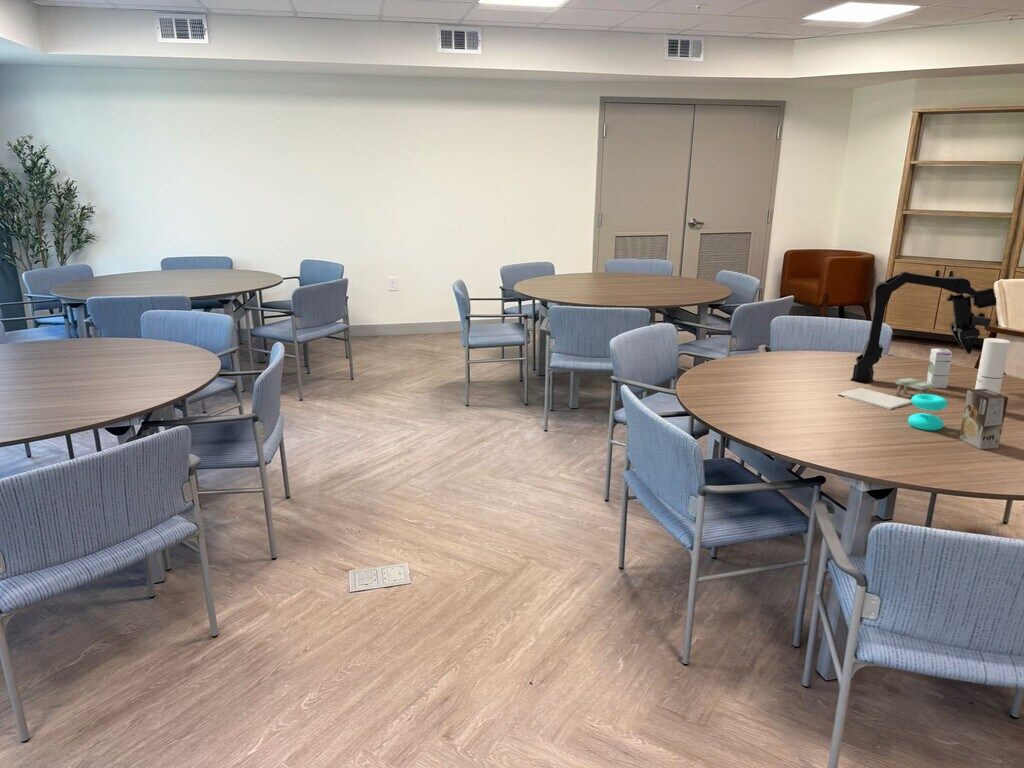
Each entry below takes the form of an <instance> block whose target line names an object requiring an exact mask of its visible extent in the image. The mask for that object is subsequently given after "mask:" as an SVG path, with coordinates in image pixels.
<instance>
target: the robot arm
mask: <svg viewBox="0 0 1024 768" xmlns="http://www.w3.org/2000/svg"><path fill="white" fill-rule="evenodd" d="M906 284H914V285H920V286H927V287H933V288H934V287H935V288H940V289H942V290H946V291H948V292H951V293H949V295H948V296H947V297H945V300H946V301H947V302H952V311H953V312H952V317H953V319H954V321H952V322H950V323H949V329H950V331H951V333H952V334H953V336H954V338H955V339H956V341H957V343H958V344H959V346H960V348H961V349H964V350H965V351H966V353H967V355H968V354H970V355H971V354H972V350H973V347H974V346H973V345H974V343H975V342H974V341H975V340H976V339H977V338H979V337H980V336H981V331H980V329H978V328H977V326H980V327H985V328H990V326H991V322H992V318H991V317H989V316H986V314H985V313H983V312H978V313H977V314H975V313H974V312H973V311H972V310H973V309H972V306H973V307H976V309H984V308H985V309H986V308H991V307H996V306H997V297H996V294H995V290H994V289H995V288H993V287H987V288H986V289H985V288H984V289H979V290H976V289H975V288H973V287H971V282H970V280H969V279H967V278H965V277H963V276H944V277H943V276H941V277H940V276H934V275H928V274H922V273H914V272H908V271H901V272H899V273H898V274H896V275H894V276H893V277H890V278H888V279H887V280H885V281H879V282H878V283H875V285H874V288H873V299H874V301H873V302H874V306H873V312H872V317H871V321H870V322H871V323H870V328H869V329H870V330H869V334H868V339H867V341H866V343H865V346H864V348H863V350H862V353H861V354H860V355H858V356H857V357H856V358H855V360H856V361H855V362H856V364H854V366H853V373H852V377H851V378H850V379H851V380H850V381H853V380H855V381H854V382H857V381H858V382H857V383H861V382H862V384H868V383H872V382H875V380H874V375H875V373H874V372H875V371H874V365H875V364H877V363H879V361H880V359H882V358H883V357H882V352H883V350H884V347H883V345H882V344H880V339H881V332H882V329H883V323H884V316H885V312H886V307H887V305H888V304H889V301H890V299H891V296H892V294H893V292H895V291H897V289H900V287H902V286H903V285H906ZM952 293H954V295H953V294H952ZM964 294H966V295H964Z"/></svg>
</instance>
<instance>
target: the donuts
mask: <svg viewBox="0 0 1024 768" xmlns="http://www.w3.org/2000/svg"><path fill="white" fill-rule="evenodd" d="M910 400H911V401H912V403H911V404H912V405H913V406H915V407H916V408H917V409H921V410H926V411H942V410H944V409H946V407H948V400H946V398H945V397H943V396H939V395H937V394H930V393H929V394H925V393H922V394H918V393H917V394H915V395H913V396H912V397H911V399H910ZM907 422H908V424H909V425H910V426H911V427H913V428H916V429H919V430H924V431H939V430H941V429H942V428H943V427H944V425H945V423H944V421H943V419H942V418H940V417H939V416H936V415H934V414H930V413H923V412H922V413H921V412H920V413H913V414H912V415H910V416H909V417H908V418H907Z"/></svg>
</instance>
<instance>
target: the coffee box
mask: <svg viewBox="0 0 1024 768" xmlns="http://www.w3.org/2000/svg"><path fill="white" fill-rule="evenodd" d="M1008 401H1009V397H1008V396H1006V395H1003V394H998V393H995V392H993V391H990V390H987V389H975V388H974V389H967V392H966V399H965V403H964V409H963V416H962V419H961V420H962V421H961V426H960V434H959V440H960V441H963V442H965V443H967V444H969V445H971V446H974V448H978V449H980V450H984V449H998V448H999V446H1000V444H1001V443H1000V442H1001V436H1002V432H1003V428H1004V427H1003V426H1004V421H1005V415H1006V411H1007V405H1008Z"/></svg>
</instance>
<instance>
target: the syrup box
mask: <svg viewBox="0 0 1024 768" xmlns="http://www.w3.org/2000/svg"><path fill="white" fill-rule="evenodd" d="M952 356H953V352H952V351H951V350H950V349H947V348H931V350H930V355H929V360H928V367H927V368H928V369H927V375H926V381H925V382H929V383H933V387H932V388H934V389H947V388H948V382H949V377H950V371H951V370H950V369H951V363H952Z"/></svg>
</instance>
